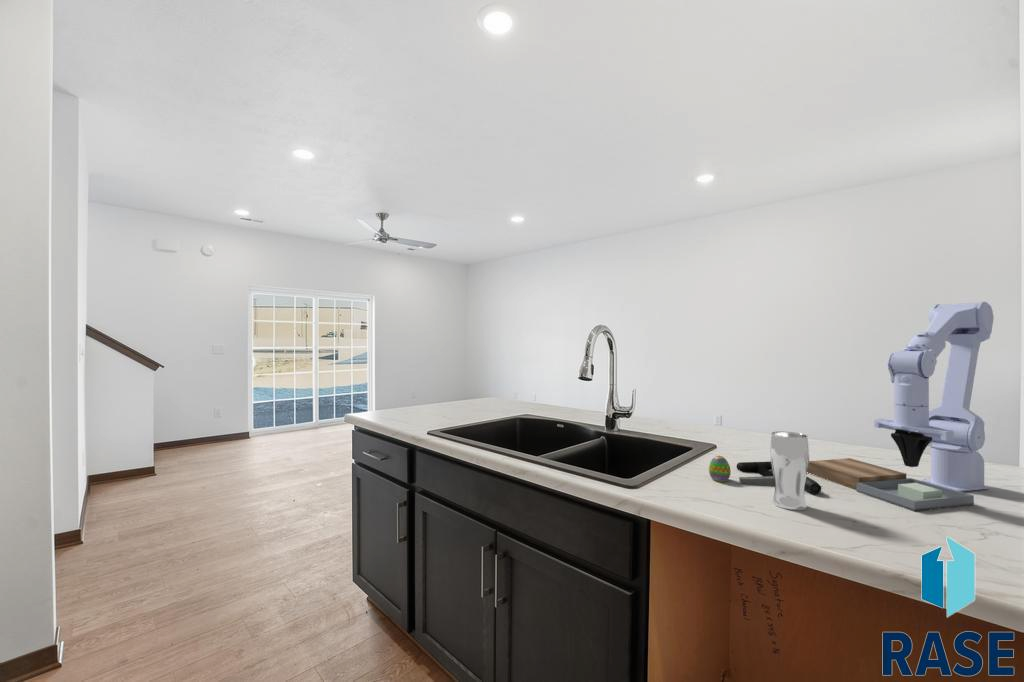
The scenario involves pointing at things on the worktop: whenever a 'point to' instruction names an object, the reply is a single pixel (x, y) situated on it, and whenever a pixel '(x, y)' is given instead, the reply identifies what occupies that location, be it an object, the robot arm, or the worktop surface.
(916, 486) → the block
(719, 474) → the egg
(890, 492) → the tray
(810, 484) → the door handle
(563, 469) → the worktop surface
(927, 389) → the robot arm
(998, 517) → the worktop surface
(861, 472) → the wooden cutting board
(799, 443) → the beer glass
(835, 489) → the worktop surface
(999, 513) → the worktop surface
